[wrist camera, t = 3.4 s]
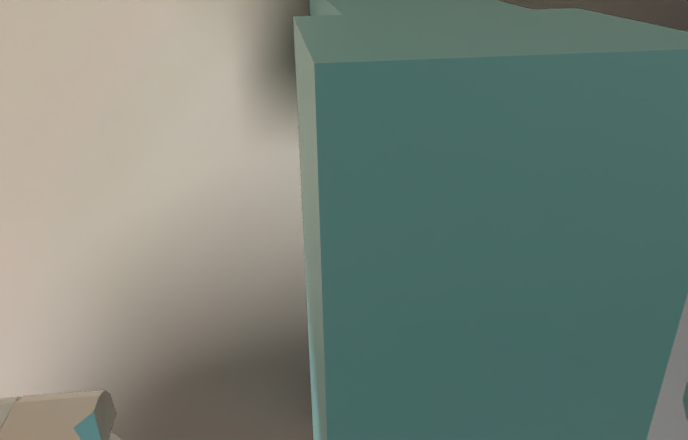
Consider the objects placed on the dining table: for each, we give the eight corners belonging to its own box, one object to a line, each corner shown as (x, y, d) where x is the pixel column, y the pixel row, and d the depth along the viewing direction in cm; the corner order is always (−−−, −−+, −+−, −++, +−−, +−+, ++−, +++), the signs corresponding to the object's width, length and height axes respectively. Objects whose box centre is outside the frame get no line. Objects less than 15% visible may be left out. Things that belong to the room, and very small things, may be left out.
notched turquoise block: (279, -15, 10) (314, 63, 4) (452, -20, 10) (756, 46, 4) (304, 429, 14) (340, 815, 8) (425, 416, 15) (551, 777, 8)
